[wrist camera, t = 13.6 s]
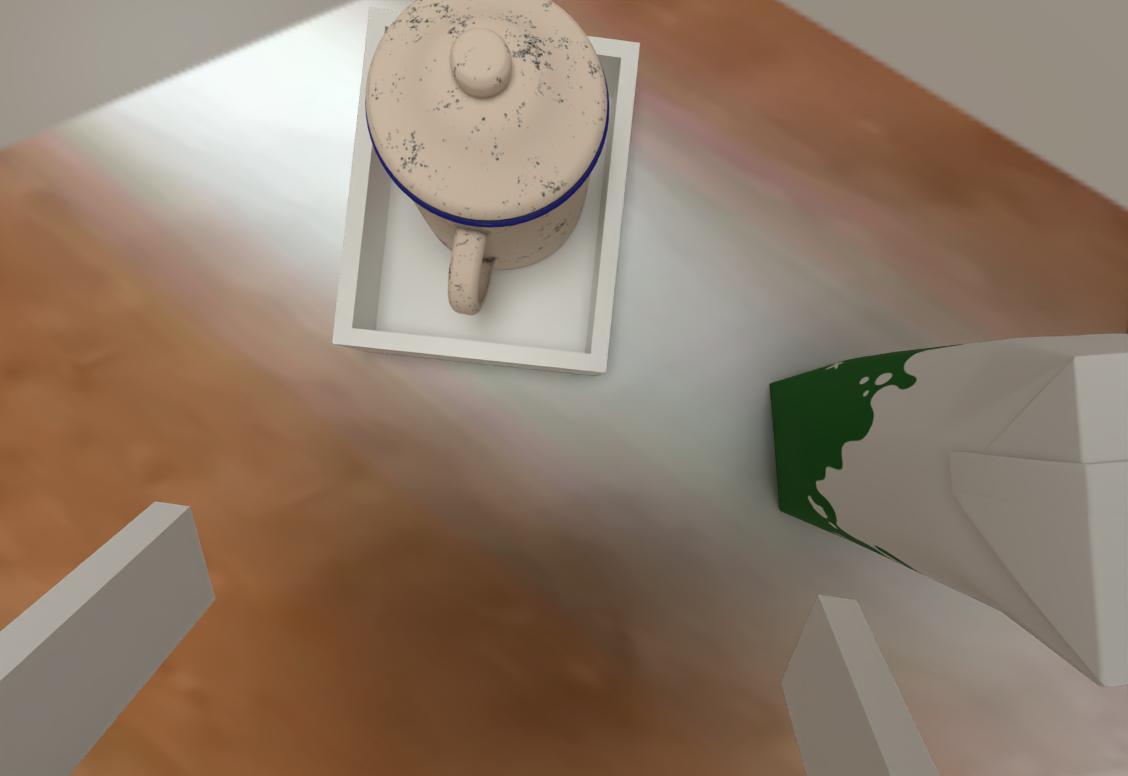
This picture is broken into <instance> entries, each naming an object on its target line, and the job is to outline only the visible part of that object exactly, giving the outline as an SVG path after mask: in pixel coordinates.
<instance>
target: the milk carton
mask: <svg viewBox="0 0 1128 776" xmlns="http://www.w3.org/2000/svg"><path fill="white" fill-rule="evenodd" d="M770 390H771V403H772V415H773V428H774V441H775V454H776V467H777V480H778V493H779V506H780V511H782V512H784V513H787V514H789V515H791V516H794V517H796V518H798V519H801V520H803V521H805V522H808V523H810V524H812V525H815V526H817V527H819V528H822V529H824V530H826V531H829V532H831V533H833V534H836V535H838V536H840V537H843V538H845V539H848V540H850V541H852V542H855V543H857V544H859V545H861V546H863V547H866V548H868V549H870V550H872V551H874V552H876V553H878V554H881V555H883V556H885V557H887V558H889V559H891V560H893V561H896V562H898V563H900V564H902V565H904V566H906V567H908V568H910V569H913V570H915V571H917V572H919V573H921V574H923V575H925V576H928V577H930V578H932V579H934V580H936V581H938V582H940V583H942V584H945V585H947V586H949V587H951V588H953V589H955V590H957V591H959V592H962V593H964V594H966V595H968V596H970V597H972V598H974V599H976V600H979V601H981V602H983V603H985V604H987V605H989V606H991V607H993V608H995V609H997V610H1000V611H1001V612H1003V613H1004V614H1005V615H1007V616H1008V617H1009V618H1011V619H1012V620H1013V621H1015V622H1016V623H1017V624H1019V625H1020V626H1021V627H1023V628H1024V629H1025V630H1027V631H1028V632H1029V633H1030V634H1032V635H1033V636H1034V637H1036V638H1037V639H1038V640H1040V641H1041V642H1042V643H1044V644H1045V645H1046V646H1048V647H1049V648H1050V649H1051V650H1053V651H1054V652H1055V653H1057V654H1058V655H1059V656H1061V657H1062V658H1063V659H1065V660H1066V661H1067V662H1068V663H1070V664H1071V665H1072V666H1074V667H1075V668H1076V669H1078V670H1079V671H1080V672H1082V673H1083V674H1084V675H1086V676H1087V677H1088V678H1090V679H1091V680H1092V681H1093V682H1095V683H1096V684H1097V685H1099V686H1101V687H1114V686H1124V685H1128V334H1090V335H1076V336H1047V337H1022V338H1012V339H1003V340H994V341H986V342H977V343H969V344H960V345H951V346H943V347H934V348H926V349H917V350H909V351H901V352H892V353H886V354H880V355H874V356H867V357H860V358H855V359H850V360H846V361H842V362H839V363H836V364H832V365H829V366H826V367H823V368H819V369H816V370H813V371H810V372H806V373H803V374H800V375H797V376H793V377H790V378H787V379H784V380H781V381H777V382H774V383H771V384H770Z"/></svg>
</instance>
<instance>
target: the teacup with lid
mask: <svg viewBox="0 0 1128 776" xmlns="http://www.w3.org/2000/svg"><path fill="white" fill-rule="evenodd" d="M609 108H610V107H609V93H608V87H607V82H606V78H605V74H604V71H603V68H602V66H601V63H600V60H599V58H598V56H597V54H596V52H595V49H594V47H593V45H592V44H591V42H590V40H589V39H588V37H587V35H586V34H585V33H584V31H583V30H582V29H581V27H580V26H579V25H578V24H577V23H576V22H575V21H574V19H573V18H572V17H571V16H570V15H569V14H568V13H566V12H565V11H564V10H563V9H562V8H561V7H559V6H558V5H557V4H555V3H554V2H553V1H551V0H416V1H415V2H413V3H412V4H411V5H409V6H408V7H407V8H406V9H405V10H404V11H403V12H402V13H401V14H400V15H399V16H398V17H397V18H396V19H395V20H394V21H393V23H392V24H391V25H390V26H389V28H388V29H387V30H386V32H385V34H384V35H383V37H382V39H381V40H380V42H379V44H378V46H377V48H376V50H375V52H374V55H373V58H372V61H371V64H370V68H369V72H368V76H367V83H366V96H365V110H366V120H367V127H368V131H369V135H370V139H371V142H372V144H373V147H374V150H375V152H376V154H377V156H378V158H379V160H380V162H381V164H382V166H383V167H384V169H385V170H386V172H387V174H388V175H389V176H390V177H391V179H392V180H393V181H394V183H395V184H396V185H397V186H398V187H399V188H400V189H401V190H402V191H403V192H404V193H405V194H406V195H407V196H408V197H409V198H410V199H412V200H413V202H414V203H415V205H416V206H417V208H418V209H419V211H420V212H421V214H422V216H423V217H424V219H425V220H426V222H427V223H428V225H429V226H430V228H431V229H432V231H433V232H434V234H435V235H436V236H437V238H438V239H439V240H440V241H441V242H442V243H443V244H444V245H445V246H446V247H447V248H448V249H449V250H450V251H452V253H451V259H450V266H449V274H448V300H449V303H450V306H451V308H452V309H453V310H454V311H455V312H457V313H460V314H465V315H475V314H477V313H478V312H479V311H480V310H481V309H482V307H483V305H484V303H485V301H486V298H487V295H488V292H489V288H490V284H491V280H492V275H493V270H494V269H514V268H521V267H525V266H528V265H531V264H534V263H536V262H538V261H541V260H543V259H544V258H546V257H548V256H549V255H551V254H552V253H553V252H555V251H556V250H557V249H558V248H559V247H560V246H561V245H562V244H563V243H564V242H565V241H566V240H567V239H568V237H569V236H570V235H571V233H572V232H573V230H574V228H575V227H576V225H577V223H578V221H579V219H580V216H581V213H582V210H583V206H584V202H585V197H586V193H587V189H588V184H589V180H590V176H591V172H592V170H593V168H594V167H595V165H596V163H597V161H598V159H599V157H600V154H601V152H602V149H603V146H604V143H605V139H606V135H607V131H608V123H609Z"/></svg>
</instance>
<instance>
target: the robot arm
mask: <svg viewBox="0 0 1128 776" xmlns="http://www.w3.org/2000/svg"><path fill="white" fill-rule="evenodd" d="M214 600H215V596H214V593H213V589H212V585H211V582H210V578H209V574H208V571H207V567H206V563H205V560H204V556H203V552H202V548H201V545H200V541H199V537H198V534H197V530H196V526H195V523H194V519H193V515H192V512H191V508H190V506H183V505H176V504H169V503H162V502H154V503H153V504H152V505H150V506H149V507H148V508H147V509H146V510H145V511H143V512H142V513H141V514H140V515H139V516H137V517H136V518H135V519H134V520H133V521H131V522H130V523H129V524H128V525H127V526H125V527H124V528H123V529H122V530H121V531H120V532H118V533H117V534H116V535H115V536H114V537H112V538H111V539H110V540H109V541H108V542H106V543H105V544H104V545H103V546H102V547H101V548H99V549H98V550H97V551H96V552H95V553H93V554H92V555H91V556H90V557H89V558H87V559H86V560H85V561H84V562H83V563H81V564H80V565H79V566H78V567H77V568H76V569H74V570H73V571H72V572H71V573H70V574H68V575H67V576H66V577H65V578H64V579H62V580H61V581H60V582H59V583H58V584H56V585H55V586H54V587H53V588H52V589H51V590H49V591H48V592H47V593H46V594H45V595H43V596H42V597H41V598H40V599H39V600H37V601H36V602H35V603H34V604H33V605H32V606H30V607H29V608H28V609H27V610H26V611H24V612H23V613H22V614H21V615H20V616H18V617H17V618H16V619H15V620H14V621H12V622H11V623H10V624H9V625H8V626H7V627H5V628H4V629H3V630H2V631H1V632H0V776H69V775H70V774H71V772H72V771H73V770H74V769H75V768H76V766H77V765H78V764H79V763H80V762H81V760H82V759H83V758H84V757H85V756H86V754H87V753H88V752H89V751H90V750H91V748H92V747H93V746H94V745H95V744H96V742H97V741H98V740H99V739H100V738H101V736H102V735H103V734H104V733H105V732H106V730H107V729H108V728H109V727H110V725H111V724H112V723H113V722H114V721H115V719H116V718H117V717H118V716H119V715H120V713H121V712H122V711H123V710H124V709H125V707H126V706H127V705H128V704H129V703H130V701H131V700H132V699H133V698H134V697H135V695H136V694H137V693H138V692H139V691H140V689H141V688H142V687H143V686H144V685H145V683H146V682H147V681H148V680H149V679H150V677H151V676H152V675H153V674H154V673H155V671H156V670H157V669H158V668H159V666H160V665H161V664H162V663H163V662H164V660H165V659H166V658H167V657H168V656H169V654H170V653H171V652H172V651H173V650H174V648H175V647H176V646H177V645H178V644H179V642H180V641H181V640H182V639H183V638H184V636H185V635H186V634H187V633H188V632H189V630H190V629H191V628H192V627H193V626H194V624H195V623H196V622H197V621H198V620H199V618H200V617H201V616H202V615H203V613H204V612H205V611H206V610H207V609H208V607H209V606H210V605H211V604H212V603H213V601H214ZM781 685H782V689H783V693H784V696H785V700H786V703H787V707H788V711H789V714H790V718H791V722H792V725H793V729H794V733H795V736H796V740H797V744H798V747H799V751H800V754H801V758H802V762H803V765H804V769H805V773H806V776H940V775H939V772H938V770H937V768H936V766H935V764H934V762H933V760H932V758H931V756H930V754H929V751H928V749H927V747H926V745H925V743H924V741H923V739H922V737H921V735H920V732H919V730H918V728H917V726H916V724H915V722H914V720H913V718H912V716H911V714H910V711H909V709H908V707H907V705H906V703H905V701H904V699H903V697H902V695H901V692H900V690H899V688H898V686H897V684H896V682H895V680H894V678H893V676H892V674H891V671H890V669H889V667H888V665H887V663H886V661H885V659H884V657H883V655H882V652H881V650H880V648H879V646H878V644H877V642H876V640H875V638H874V636H873V634H872V631H871V629H870V627H869V625H868V623H867V621H866V619H865V617H864V615H863V612H862V610H861V608H860V606H859V604H858V602H857V600H853V599H846V598H839V597H832V596H825V595H818V596H817V598H816V600H815V603H814V605H813V608H812V610H811V612H810V615H809V617H808V619H807V622H806V624H805V626H804V629H803V631H802V634H801V636H800V638H799V641H798V643H797V645H796V648H795V650H794V652H793V655H792V657H791V660H790V662H789V664H788V667H787V669H786V671H785V674H784V676H783V678H782V681H781Z"/></svg>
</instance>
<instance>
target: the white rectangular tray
mask: <svg viewBox="0 0 1128 776" xmlns="http://www.w3.org/2000/svg"><path fill="white" fill-rule="evenodd" d="M402 12H403V11H396V10H389V9H381V8H374V7H369V16H368V25H367V34H366V43H365V52H364V61H363V70H362V79H361V88H360V97H359V106H358V115H357V124H356V134H355V143H354V152H353V161H352V170H351V179H350V188H349V197H348V206H347V215H346V224H345V233H344V242H343V251H342V260H341V269H340V278H339V287H338V296H337V305H336V314H335V324H334V333H333V342H332V344H336V345H340V346H344V347H348V348H352V349H356V350H360V351H366V352H376V353H385V354H394V355H404V356H413V357H423V358H432V359H442V360H451V361H461V362H470V363H479V364H489V365H498V366H508V367H517V368H527V369H536V370H546V371H555V372H564V373H574V374H583V375H593V376H597V375H600V374H603V373H606V367H607V358H608V348H609V338H610V329H611V319H612V309H613V299H614V290H615V280H616V270H617V260H618V251H619V241H620V231H621V221H622V212H623V202H624V192H625V183H626V173H627V163H628V153H629V144H630V134H631V124H632V114H633V105H634V95H635V85H636V76H637V66H638V56H639V46H640V43H636V42H628V41H621V40H613V39H606V38H599V37H591V36H587V37H588V39H589V40H590V42H591V44H592V45H593V47H594V49H595V52H596V54H597V56H598V58H599V60H600V63H601V66H602V68H603V71H604V74H605V78H606V82H607V87H608V93H609V107H610V108H609V123H608V131H607V135H606V139H605V143H604V146H603V149H602V152H601V154H600V157H599V159H598V161H597V163H596V165H595V167H594V168H593V170H592V172H591V176H590V180H589V184H588V189H587V193H586V197H585V202H584V206H583V210H582V213H581V216H580V219H579V221H578V223H577V225H576V227H575V228H574V230H573V232H572V233H571V235H570V236H569V237H568V239H567V240H566V241H565V242H564V243H563V244H562V245H561V246H560V247H559V248H558V249H557V250H556V251H555V252H553V253H552V254H551V255H549V256H548V257H546V258H544V259H543V260H541V261H538V262H536V263H534V264H531V265H528V266H525V267H521V268H514V269H494V270H493V275H492V280H491V284H490V288H489V292H488V295H487V298H486V301H485V303H484V305H483V307H482V309H481V310H480V311H479V312H478V313H477V314H475V315H465V314H460V313H457V312H455V311H454V310H453V309H452V308H451V306H450V303H449V300H448V274H449V266H450V259H451V253H452V251H450V250H449V249H448V248H447V247H446V246H445V245H444V244H443V243H442V242H441V241H440V240H439V239H438V238H437V236H436V235H435V234H434V232H433V231H432V229H431V228H430V226H429V225H428V223H427V222H426V220H425V219H424V217H423V216H422V214H421V212H420V211H419V209H418V208H417V206H416V205H415V203H414V202H413V200H412V199H410V198H409V197H408V196H407V195H406V194H405V193H404V192H403V191H402V190H401V189H400V188H399V187H398V186H397V185H396V184H395V183H394V181H393V180H392V179H391V177H390V176H389V175H388V174H387V172H386V170H385V169H384V167H383V166H382V164H381V162H380V160H379V158H378V156H377V154H376V152H375V150H374V147H373V144H372V142H371V139H370V135H369V131H368V127H367V120H366V110H365V96H366V83H367V76H368V72H369V68H370V64H371V61H372V58H373V55H374V52H375V50H376V48H377V46H378V44H379V42H380V40H381V39H382V37H383V35H384V34H385V32H386V30H387V29H388V28H389V26H390V25H391V24H392V23H393V21H394V20H395V19H396V18H397V17H398V16H399V15H400V14H401V13H402Z"/></svg>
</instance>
